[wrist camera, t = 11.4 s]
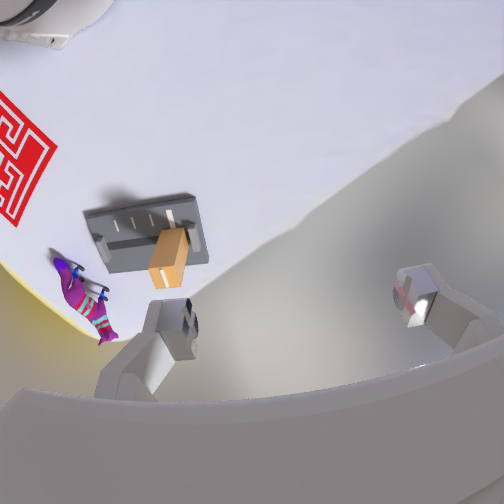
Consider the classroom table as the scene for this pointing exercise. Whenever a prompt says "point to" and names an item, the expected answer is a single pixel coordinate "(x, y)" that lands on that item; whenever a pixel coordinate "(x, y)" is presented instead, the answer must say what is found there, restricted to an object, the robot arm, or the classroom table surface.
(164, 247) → the fader cap
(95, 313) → the purple fox figurine
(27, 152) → the maze puzzle
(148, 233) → the fader board
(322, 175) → the classroom table surface
